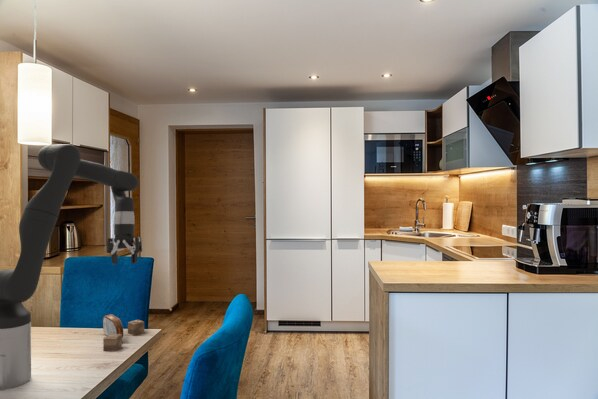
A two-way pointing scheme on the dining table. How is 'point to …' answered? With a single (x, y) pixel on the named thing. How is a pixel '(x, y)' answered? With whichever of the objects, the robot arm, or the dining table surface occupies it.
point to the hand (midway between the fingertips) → (124, 263)
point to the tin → (112, 325)
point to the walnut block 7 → (136, 327)
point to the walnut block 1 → (112, 342)
